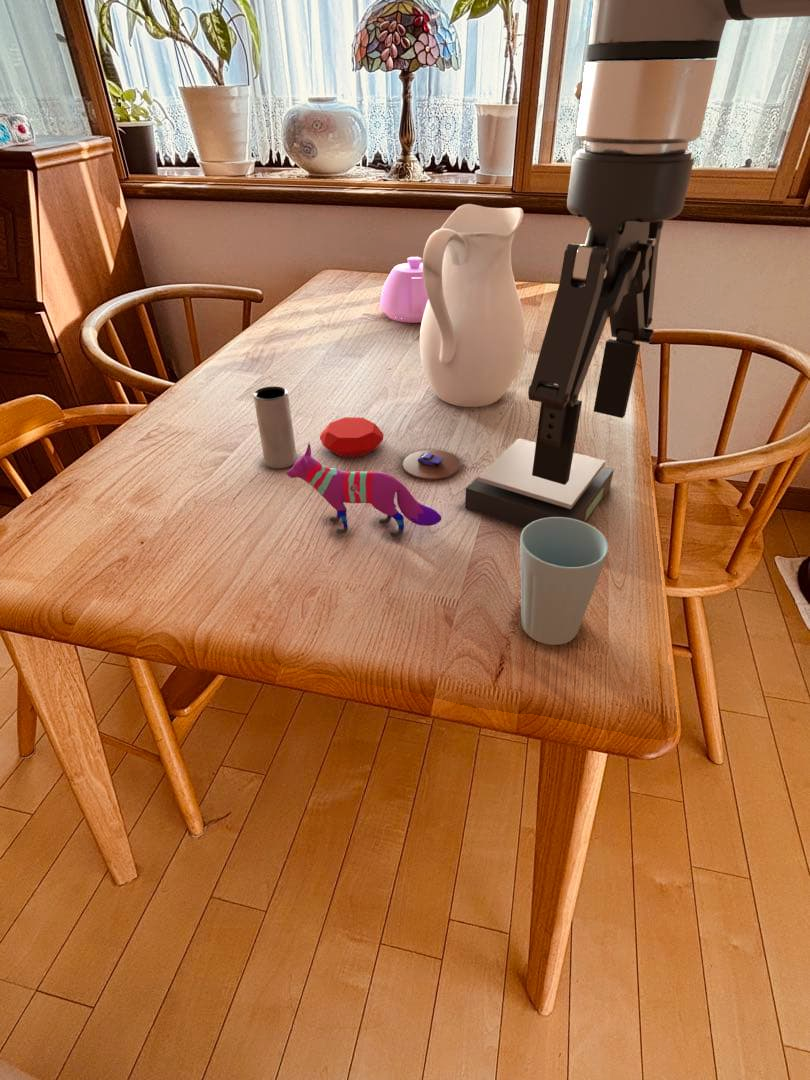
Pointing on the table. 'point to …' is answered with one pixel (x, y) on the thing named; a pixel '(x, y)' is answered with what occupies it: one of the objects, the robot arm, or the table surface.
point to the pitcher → (472, 307)
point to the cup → (558, 576)
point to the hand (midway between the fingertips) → (582, 443)
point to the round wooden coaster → (431, 465)
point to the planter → (275, 426)
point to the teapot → (405, 292)
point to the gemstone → (351, 437)
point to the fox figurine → (362, 493)
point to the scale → (537, 488)
